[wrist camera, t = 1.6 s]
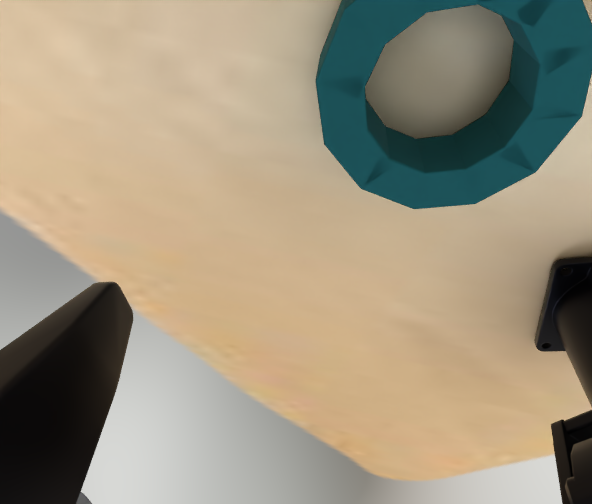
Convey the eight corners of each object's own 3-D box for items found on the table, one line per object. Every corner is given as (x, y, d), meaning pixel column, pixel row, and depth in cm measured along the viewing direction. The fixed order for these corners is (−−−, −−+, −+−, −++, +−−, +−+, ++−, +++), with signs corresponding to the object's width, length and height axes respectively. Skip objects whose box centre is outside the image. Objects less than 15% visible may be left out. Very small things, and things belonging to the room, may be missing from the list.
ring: (538, 159, 19) (564, 197, 17) (335, 179, 21) (333, 216, 18) (583, -92, 14) (630, -88, 12) (308, -41, 15) (300, -28, 13)
